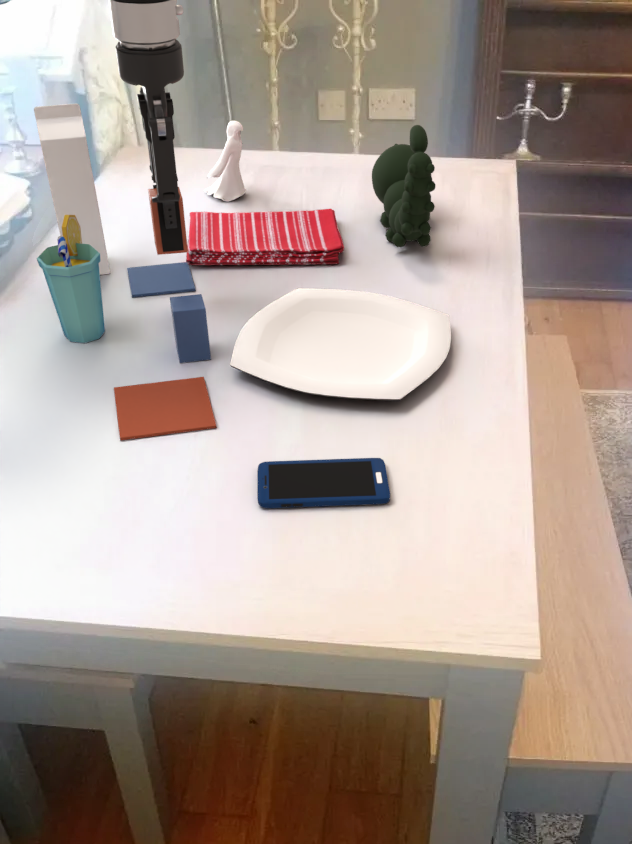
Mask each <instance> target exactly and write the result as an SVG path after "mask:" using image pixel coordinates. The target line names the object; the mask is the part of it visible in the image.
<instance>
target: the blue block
mask: <svg viewBox="0 0 632 844" xmlns="http://www.w3.org/2000/svg"><path fill="white" fill-rule="evenodd" d="M169 303H170V311H171V319H172V326H173V334H174V341H175V342H174V343H175V349H176V352H177V357H178V358H177V359H178V361H179V364H185V363H193V362H201V361H210V360H211V359H212V356H211V347H210V337H209V327H208V326H209V325H208V318H207V308H206V304H205V301H204V298H203V295H202V293H199V294H198V293H197V294H188V295H179V296H178V295H177V296H170V297H169Z"/></svg>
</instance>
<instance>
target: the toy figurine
mask: <svg viewBox="0 0 632 844" xmlns="http://www.w3.org/2000/svg"><path fill="white" fill-rule="evenodd" d="M428 145H429V138H428V134H427V131H426V130H425V128H424V127H423V126H422V125H421V124H415V125H412V126H411V128H410V130H409V144H405V143H399V144H398V143H394V144H393V145H392V146H390V147H388V148H386V149H385V150H384V151H383V152H381V154H379V156H378V157H377V159H376V160H375V162H374V164H373V167H372V169H371V182H372V183H371V184H372V189H373V191H374V195H375V196H376V197H377V199H378V201H379V202H380V203H381V204H383V212H382V213H381V216H380V218H379V219H380V220H379V221H380V225H382V227H383V228H384V229H386V232H385V234H384V236H385V239H386V240H387V241H388V242H390V243H392V244H393V245H394V246H395V247H397V248H403V247H404V246H405V245H406V243H407V242H414V241H415V242H417V244H418V245H419V246H420V247H422V248H423V247H427V246H429V245H430V243H431V241H432V238H431V235H430V233H431V230H432V226H431V224H430V220H431V213H433V212H434V210H435V207H436V206H435V203H434V202H433V201H432V194H431V192H433V191H435V189H436V183H435V181H433V177H432V174H433V173H434V172H435V169H436V167H435V165H434V164H433V160H432V158H431V156H430V155H429V154H428V153H427V152H426V151H427V149H428Z"/></svg>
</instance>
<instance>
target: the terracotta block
mask: <svg viewBox="0 0 632 844" xmlns="http://www.w3.org/2000/svg"><path fill="white" fill-rule="evenodd" d="M147 192H148V200H149V207H150V217H151V223H152V224H151V225H152V231H153V240H154V245H155V250H156V254H157V256H159V255H160V256H161V255H170V254H172V255H173V254H184V253H187V252H188V248H187V244H188V237H187V230H186V218H185V209H184V199H183V196H182V192H181V189H180V186H178V192H179V194H180V200H179V209H180V218H181V227H182V237H183V246H184V250H181V251H169V252H163V248H162V240H161V232H160V224H159V216H158V208H157V203H153V202H152V197H157V196H156V195H157V188H155V189H153V188H148V189H147Z"/></svg>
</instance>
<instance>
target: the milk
mask: <svg viewBox="0 0 632 844" xmlns="http://www.w3.org/2000/svg"><path fill="white" fill-rule="evenodd" d="M33 113H34V117H35V123H36V128H37V131H38V132H37V133H38V138H39V142H40V147H41V152H42V157H43V160H44V161H43V162H44V166H45V171H46V176H47V180H48V185H49V189H50V190H49V191H50V194H51V199H52V203H53V207H54V212H55V217H56V221H57V227H58V231H59V236H63V234H62V224H63V220H64V215H75V216H76V218H77V221H78V223H79V225H80V229H81V238H82V244H89V245H91V246H92V247H93V248H94V249H95V250H97V251H98V252H99V253H100V262H99V272H100V276H101V275H108V274H111V268H110V267H111V266H110V262H109V256H108V250H107V246H106V240H105V234H104V228H103V222H102V219H101V211H100V207H99V200H98V195H97V190H96V185H95V184H96V183H95V179H94V173H93V168H92V167H93V166H92V163H91V156H90V151H89V145H88V141H87V134H86V131H85V125H84V121H83V115H82V110H81V105H80V104H79V103H63V104H54V105H53V104H52V105H40V106H34V108H33Z"/></svg>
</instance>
